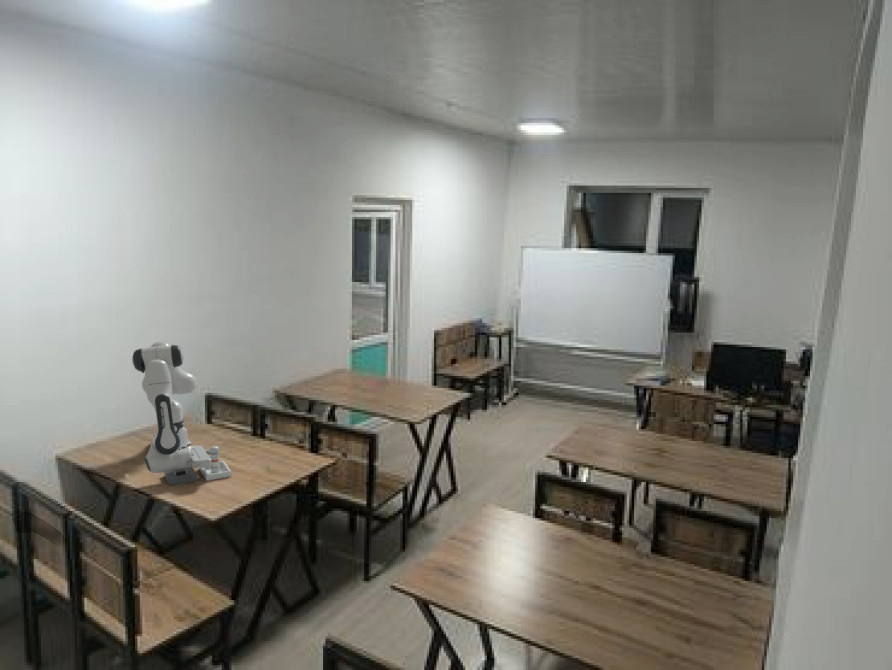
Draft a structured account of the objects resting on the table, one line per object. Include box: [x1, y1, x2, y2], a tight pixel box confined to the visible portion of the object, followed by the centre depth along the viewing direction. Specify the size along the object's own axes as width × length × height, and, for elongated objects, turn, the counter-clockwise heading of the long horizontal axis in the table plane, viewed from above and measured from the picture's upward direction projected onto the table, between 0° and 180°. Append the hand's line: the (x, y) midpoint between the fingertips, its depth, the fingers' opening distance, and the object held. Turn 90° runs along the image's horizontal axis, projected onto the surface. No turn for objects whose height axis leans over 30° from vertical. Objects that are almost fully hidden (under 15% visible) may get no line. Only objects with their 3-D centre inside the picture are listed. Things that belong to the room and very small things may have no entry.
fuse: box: [210, 445, 220, 473], centre depth 302 cm, size 4×4×12 cm
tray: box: [198, 460, 232, 482], centre depth 303 cm, size 15×11×4 cm
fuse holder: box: [163, 466, 199, 487], centre depth 295 cm, size 12×12×5 cm
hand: (216, 453), depth 302 cm, fingers open, 4 cm apart
